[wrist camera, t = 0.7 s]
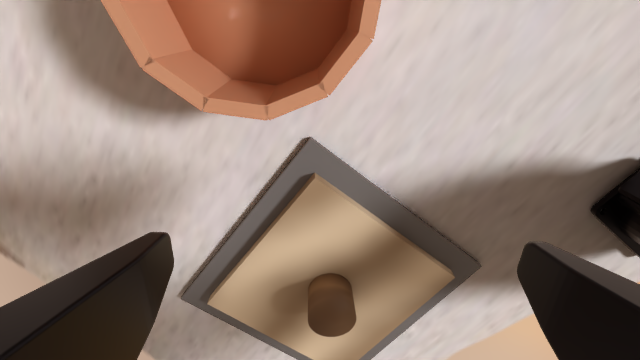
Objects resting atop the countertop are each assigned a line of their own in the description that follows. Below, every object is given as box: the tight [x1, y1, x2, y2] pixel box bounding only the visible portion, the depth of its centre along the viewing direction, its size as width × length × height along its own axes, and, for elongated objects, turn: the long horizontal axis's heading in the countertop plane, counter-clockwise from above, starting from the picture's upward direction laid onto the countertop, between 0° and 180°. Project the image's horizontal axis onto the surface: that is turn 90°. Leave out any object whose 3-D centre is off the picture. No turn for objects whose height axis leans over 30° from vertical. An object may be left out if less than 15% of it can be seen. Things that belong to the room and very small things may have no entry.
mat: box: [181, 137, 481, 360], centre depth 25 cm, size 15×15×1 cm
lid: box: [207, 173, 455, 360], centre depth 23 cm, size 12×12×3 cm
